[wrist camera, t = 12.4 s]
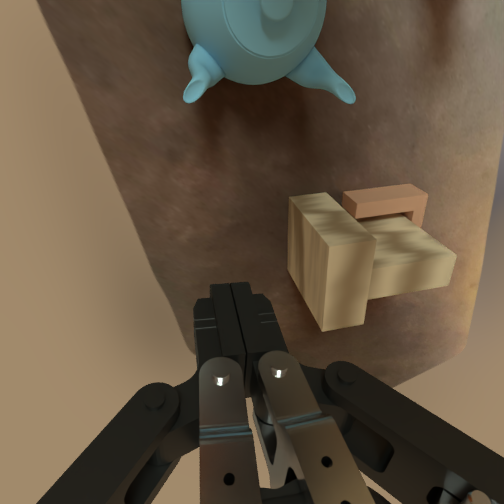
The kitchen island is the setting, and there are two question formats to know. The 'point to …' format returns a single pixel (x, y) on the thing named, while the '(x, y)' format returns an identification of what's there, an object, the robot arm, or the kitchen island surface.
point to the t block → (357, 259)
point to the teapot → (258, 44)
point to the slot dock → (387, 202)
